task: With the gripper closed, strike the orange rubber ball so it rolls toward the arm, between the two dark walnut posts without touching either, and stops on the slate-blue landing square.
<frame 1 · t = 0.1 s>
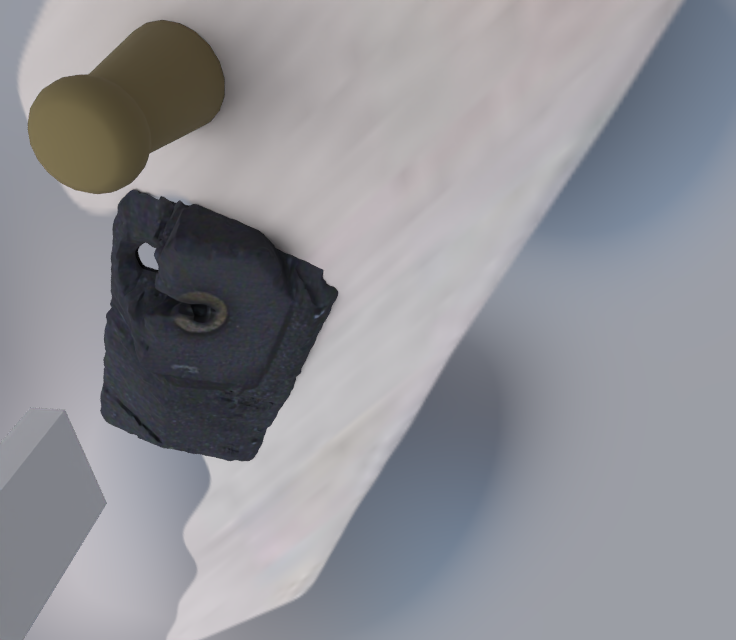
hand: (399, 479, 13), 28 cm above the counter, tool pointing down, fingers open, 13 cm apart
dark slate chunk: (205, 335, 49), on the counter
cork: (174, 76, 38), on the counter
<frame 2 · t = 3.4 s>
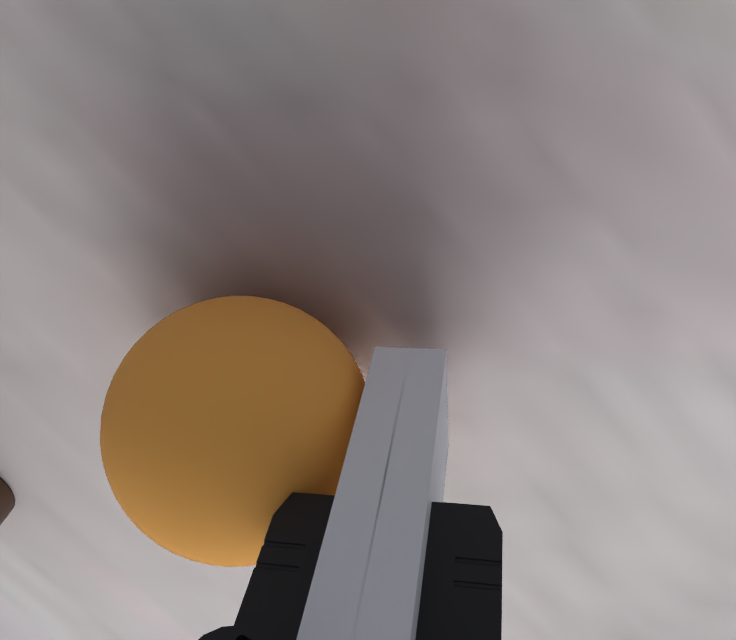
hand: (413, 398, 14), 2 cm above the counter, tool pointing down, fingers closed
ball: (241, 426, 14), on the counter
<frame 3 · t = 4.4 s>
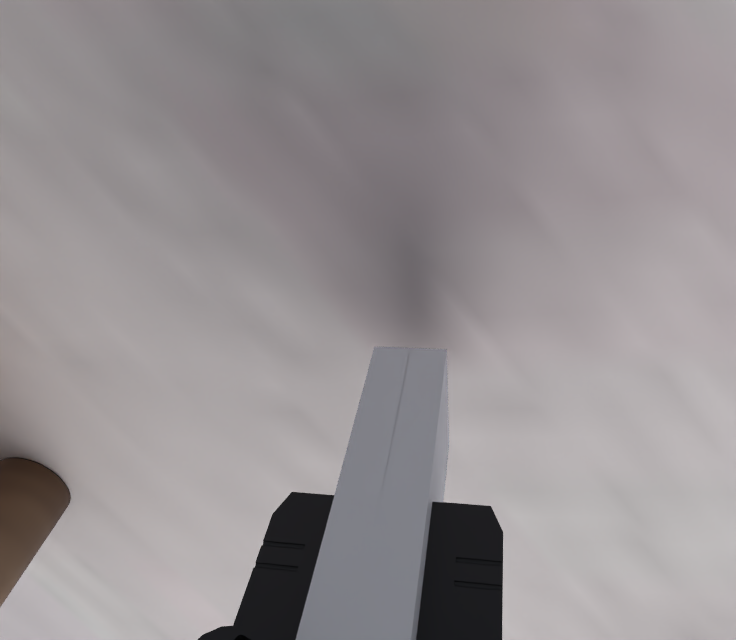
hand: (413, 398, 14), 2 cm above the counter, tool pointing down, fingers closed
post 2: (32, 486, 22), on the counter
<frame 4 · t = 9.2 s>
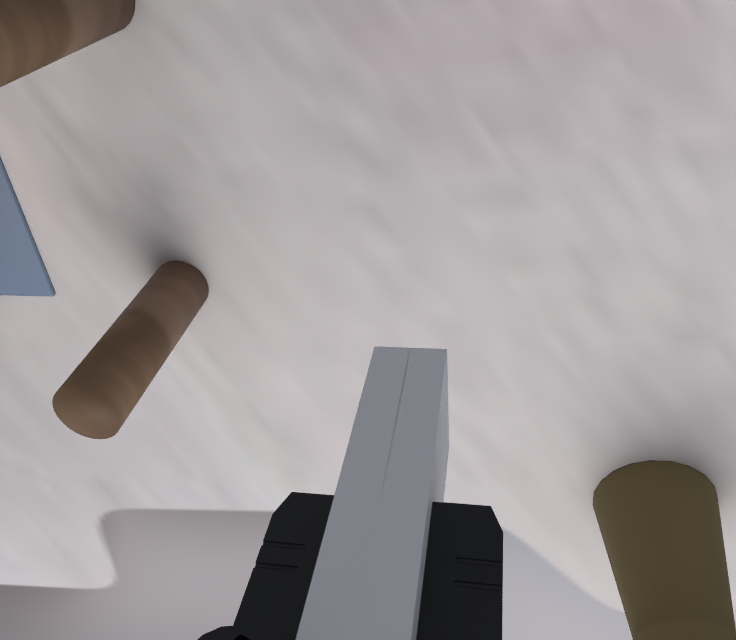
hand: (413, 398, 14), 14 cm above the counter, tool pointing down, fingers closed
post 2: (182, 284, 32), on the counter
cork: (652, 498, 35), on the counter
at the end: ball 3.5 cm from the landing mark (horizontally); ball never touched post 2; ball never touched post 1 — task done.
